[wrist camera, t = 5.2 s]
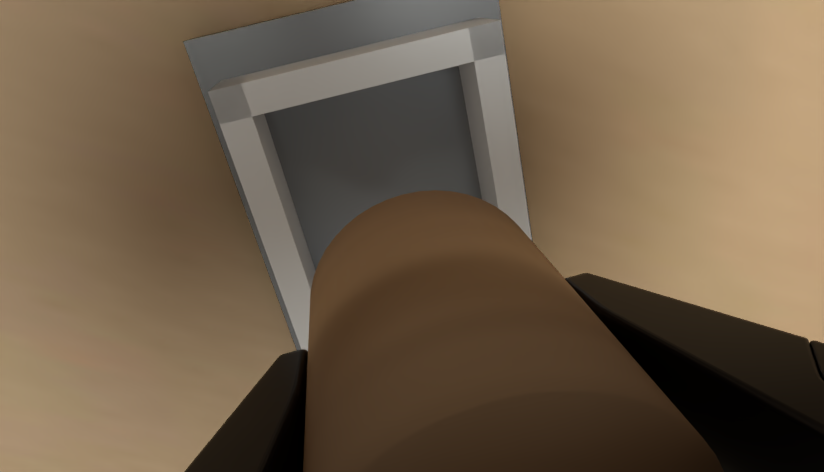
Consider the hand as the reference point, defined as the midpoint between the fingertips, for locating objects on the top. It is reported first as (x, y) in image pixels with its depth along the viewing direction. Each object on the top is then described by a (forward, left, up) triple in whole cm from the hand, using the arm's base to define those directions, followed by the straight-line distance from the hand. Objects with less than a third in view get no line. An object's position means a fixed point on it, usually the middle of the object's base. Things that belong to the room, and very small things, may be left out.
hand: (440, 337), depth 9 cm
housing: (-3, 0, -10) cm, 10 cm away
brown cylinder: (0, 0, -1) cm, 1 cm away
